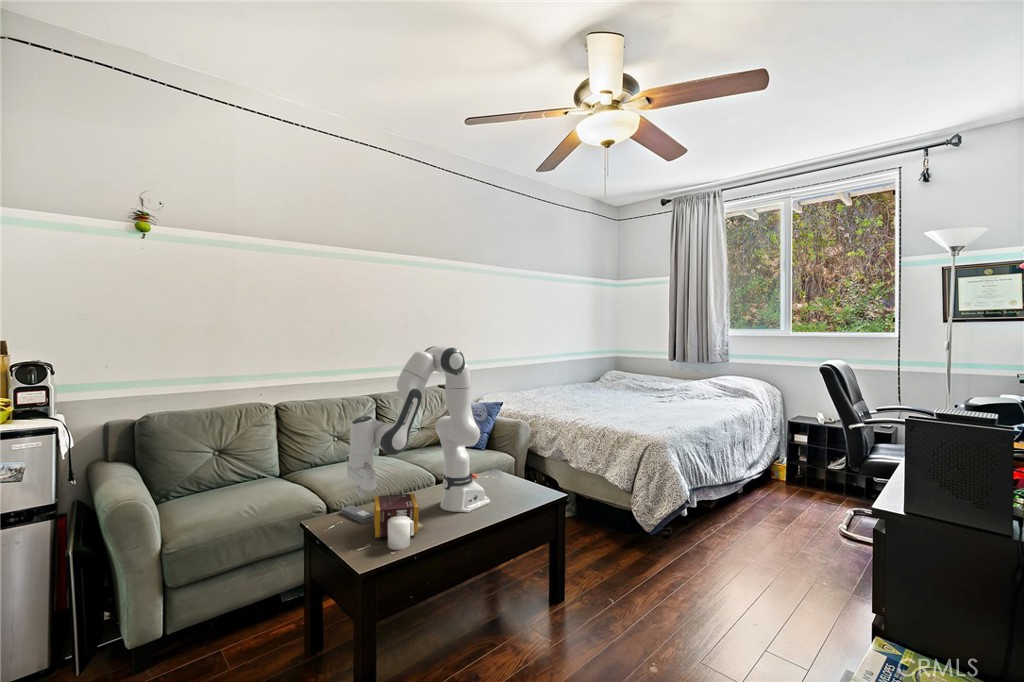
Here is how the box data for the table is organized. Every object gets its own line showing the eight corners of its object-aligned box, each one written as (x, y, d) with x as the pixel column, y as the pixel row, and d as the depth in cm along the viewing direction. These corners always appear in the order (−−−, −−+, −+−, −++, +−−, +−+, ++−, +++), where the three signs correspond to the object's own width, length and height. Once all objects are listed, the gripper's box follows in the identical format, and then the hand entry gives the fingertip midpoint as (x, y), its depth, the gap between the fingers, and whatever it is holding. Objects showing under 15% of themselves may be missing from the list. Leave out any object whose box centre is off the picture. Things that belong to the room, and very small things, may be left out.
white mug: (407, 536, 180) (407, 513, 179) (417, 544, 173) (417, 520, 173) (384, 543, 174) (384, 519, 173) (393, 552, 168) (393, 527, 167)
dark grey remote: (340, 514, 200) (340, 507, 200) (351, 510, 204) (351, 504, 204) (363, 524, 190) (363, 517, 190) (374, 520, 194) (374, 513, 194)
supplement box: (375, 510, 174) (418, 506, 179) (374, 495, 189) (414, 492, 194) (375, 538, 175) (418, 533, 180) (373, 521, 189) (413, 517, 194)
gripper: (381, 465, 173) (380, 502, 174) (359, 452, 189) (359, 487, 190) (364, 468, 169) (363, 506, 170) (344, 455, 185) (343, 490, 186)
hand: (361, 496), depth 180 cm, fingers closed
